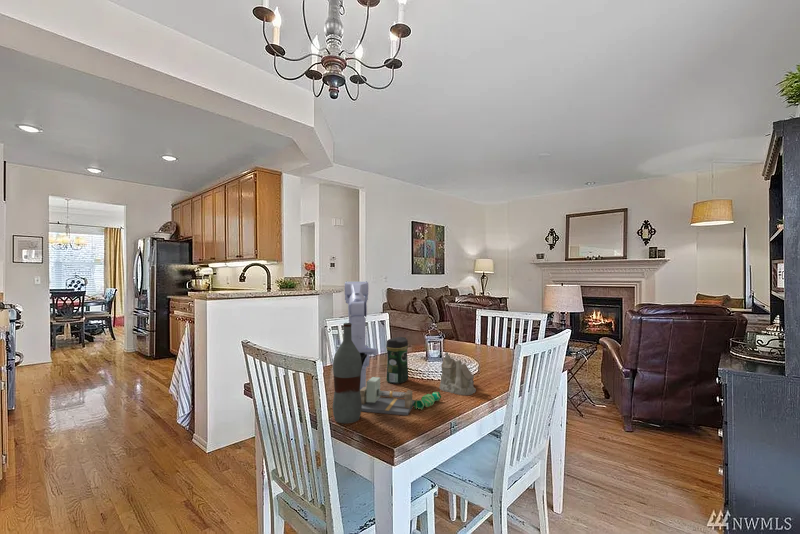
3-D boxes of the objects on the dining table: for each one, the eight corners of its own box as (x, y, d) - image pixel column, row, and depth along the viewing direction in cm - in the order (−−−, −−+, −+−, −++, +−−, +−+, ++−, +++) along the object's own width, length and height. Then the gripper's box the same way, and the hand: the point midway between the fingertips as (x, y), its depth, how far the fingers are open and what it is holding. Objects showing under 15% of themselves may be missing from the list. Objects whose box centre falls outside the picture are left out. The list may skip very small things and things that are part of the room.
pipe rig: (355, 410, 126) (355, 393, 127) (366, 399, 138) (366, 383, 138) (407, 415, 122) (407, 398, 122) (415, 403, 134) (415, 387, 134)
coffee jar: (395, 377, 167) (395, 335, 168) (410, 379, 163) (410, 336, 164) (383, 382, 159) (383, 338, 159) (399, 385, 155) (399, 340, 155)
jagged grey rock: (463, 396, 140) (463, 355, 142) (431, 388, 153) (431, 350, 154) (488, 390, 151) (488, 352, 152) (456, 383, 163) (456, 348, 164)
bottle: (356, 425, 114) (357, 325, 115) (328, 423, 116) (328, 325, 116) (365, 414, 124) (365, 321, 124) (338, 412, 125) (338, 321, 126)
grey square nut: (366, 401, 129) (366, 381, 129) (372, 396, 135) (372, 376, 135) (374, 402, 128) (374, 382, 128) (380, 396, 134) (380, 377, 134)
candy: (424, 409, 126) (418, 397, 127) (417, 413, 128) (411, 401, 129) (443, 399, 135) (437, 389, 137) (436, 403, 137) (431, 392, 139)
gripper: (333, 336, 131) (333, 376, 131) (373, 338, 127) (373, 378, 127) (341, 333, 138) (341, 371, 137) (379, 335, 134) (379, 373, 134)
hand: (357, 374), depth 133 cm, fingers closed
